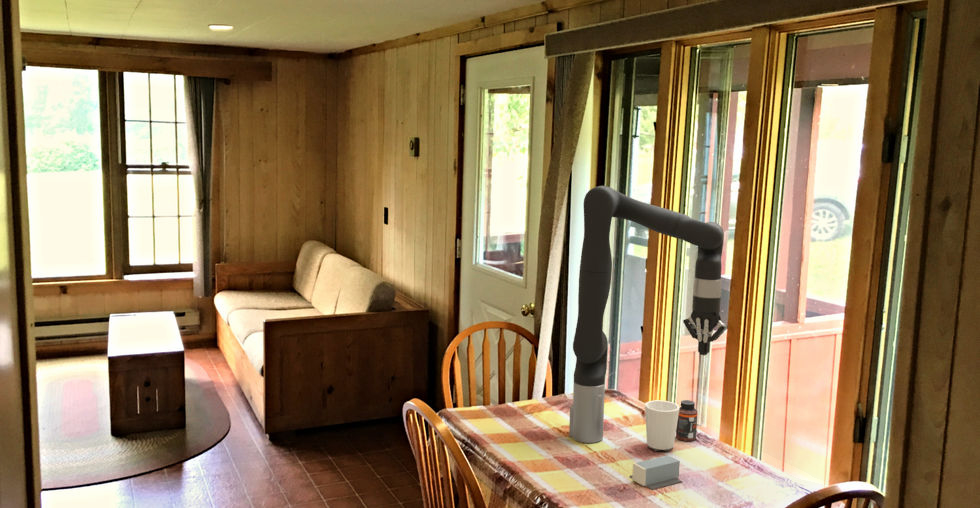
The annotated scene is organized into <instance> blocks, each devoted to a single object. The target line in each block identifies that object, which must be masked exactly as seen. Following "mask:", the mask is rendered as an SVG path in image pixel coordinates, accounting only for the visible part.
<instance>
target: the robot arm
mask: <svg viewBox="0 0 980 508" xmlns="http://www.w3.org/2000/svg"><path fill="white" fill-rule="evenodd" d="M613 218H617V219H623V220H626V221H630V222H633V223H636V224H638V225H641V226H643V227H644V228H647V229H649V230H651V231H653V232H657V233H659V234H662V235H665V236H668V237H671V238H675V239H679V240H682V241H684V242H687V243H689V244H691V245H694V246H696V247H697V257H696V259H695V260H696V261H695V267H694V268H695V272H694V281H693V287H692V289H693V291H692V305H691V307H692V308H691V309H692V311H691V313H690V316H689V317H687V318H685V319H683V321H682V322H683V324H684V326H685V327H686V329H687V331H688V333H689V334H690V336H691V337H692V338H693V339H695V340H697V341H698V343H697V344H698V345H697V352H698V354H699V355H700V356H706V355H707V356H708V354H709V352H710V350H711V348H710V347H711V343H712V342H714V341H717V340H718V339H719V338H720V337H721V335H723V334H724V332H725V331H727V329H728V328H729V326H728V324H725V323H723V322H722V318H721V315H720V314H721V313H720V312H721V300H722V282H721V281H722V256H723V249H724V239H725V237H724V236H725V233H724V229H723V227H722V226H721V225H720V224H719V223H717V222H715V221H708V222H704V221H701V220H698V219H694V218H692V217H690V216H689V215H687V214H684V213H680V212H678V211H674V210H672V209H668V208H664V207H661V206H657V205H653V204H650V203H647V202H643V201H640V200H638V199H634V198H633V197H630V196H628V195H626V194H623V193H622V192H619V191H618V190H615V189H613V188H612V187H610V186H607V185H599V186H595V187H591V189H589V190H588V192H586V194H585V195H584V199H583V241H582V248H581V255H580V264H579V273H578V275H579V276H578V295H577V296H578V297H577V299H578V300H577V301H578V303H577V306H578V309H577V312H578V313H577V320H576V321H577V322H576V327H575V332H574V336H573V341H572V350H573V353H574V356H575V358H576V359H575V360H576V361H575V369H574V372H573V386H572V387H573V388H572V389H573V393H572V395H573V396H572V404H571V405H570V406H569V425H568V426H569V427H568V436H569V437H570V438H572V439H573V440H575V441H577V442H580V443H588V444H591V443H592V444H593V443H594V444H595V443H599V442H601V441H602V440H603V438H604V421H605V420H604V416H605V415H604V414H605V390H606V387H605V386H606V374H607V369H608V368H607V367H608V366H607V365H608V353H609V351H608V350H609V345H608V344H609V342H608V338H607V335H606V334H605V332H604V331H603V326H604V325H603V324H604V323H603V321H604V315H605V310H606V307H607V303H608V299H609V295H610V294H609V293H610V289H611V285H612V284H611V283H612V274H613V270H612V269H613V259H612V250H611V244H610V233H611V225H612V219H613ZM715 328H716V330H715ZM714 330H715V331H714Z"/></svg>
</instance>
